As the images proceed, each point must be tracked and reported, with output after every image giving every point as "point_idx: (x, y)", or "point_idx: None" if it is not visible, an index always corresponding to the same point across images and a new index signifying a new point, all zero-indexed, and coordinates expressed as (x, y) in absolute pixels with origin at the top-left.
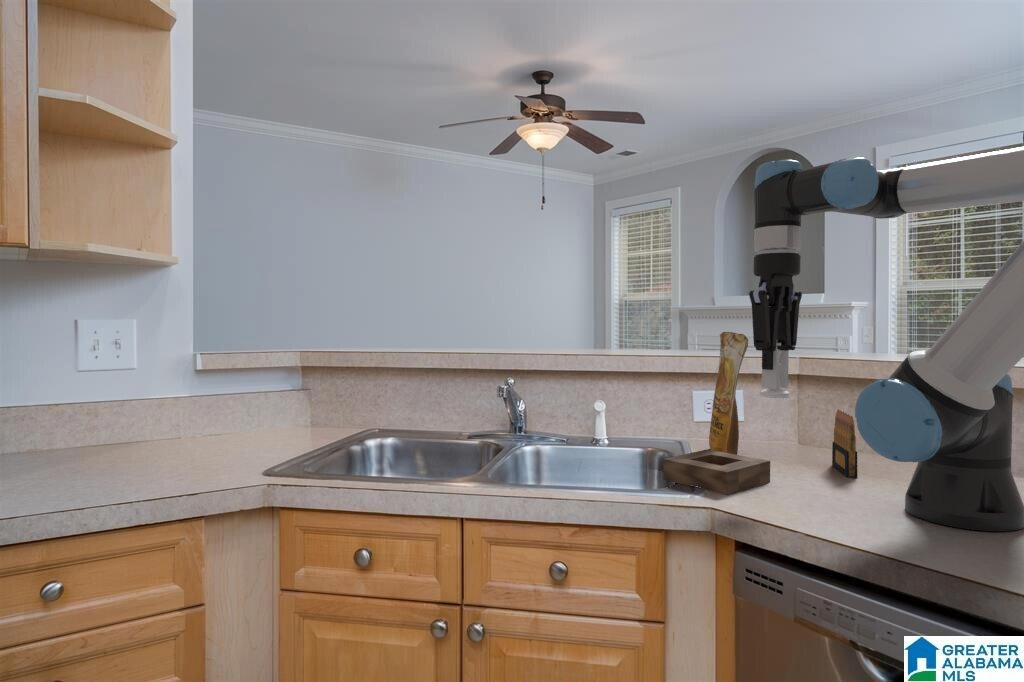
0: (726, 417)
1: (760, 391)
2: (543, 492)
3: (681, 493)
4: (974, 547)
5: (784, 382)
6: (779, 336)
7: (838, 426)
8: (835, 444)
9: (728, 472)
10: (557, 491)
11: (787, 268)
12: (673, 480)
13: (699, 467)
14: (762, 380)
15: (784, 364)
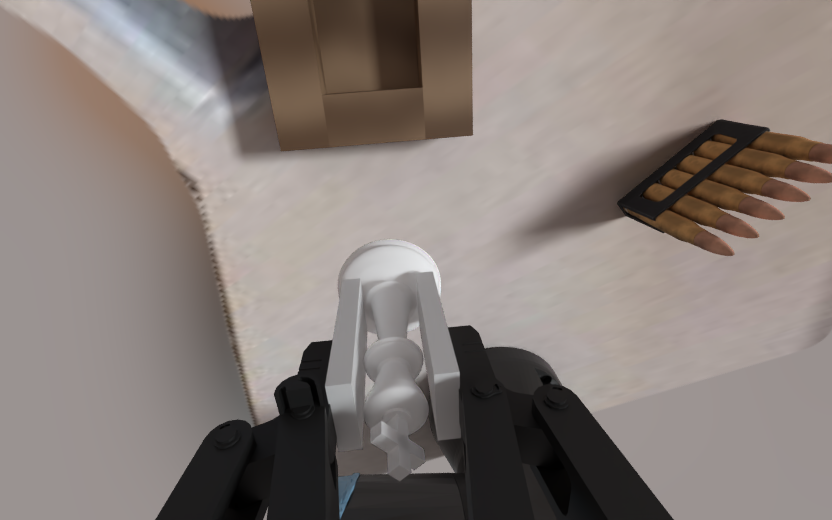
0: None
1: (360, 256)
2: None
3: (204, 70)
4: (374, 450)
5: (420, 331)
6: (467, 475)
7: (779, 167)
8: (739, 149)
9: (286, 150)
10: None
11: None
12: None
13: (263, 63)
14: (341, 297)
15: (428, 380)
